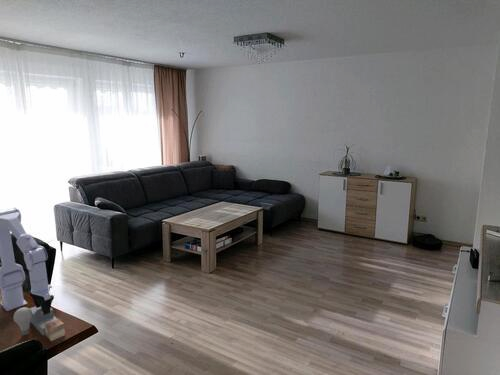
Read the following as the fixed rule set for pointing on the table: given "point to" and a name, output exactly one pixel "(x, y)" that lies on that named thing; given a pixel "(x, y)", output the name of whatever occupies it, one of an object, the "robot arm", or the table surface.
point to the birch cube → (54, 329)
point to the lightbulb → (23, 319)
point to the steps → (41, 319)
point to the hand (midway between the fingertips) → (43, 310)
